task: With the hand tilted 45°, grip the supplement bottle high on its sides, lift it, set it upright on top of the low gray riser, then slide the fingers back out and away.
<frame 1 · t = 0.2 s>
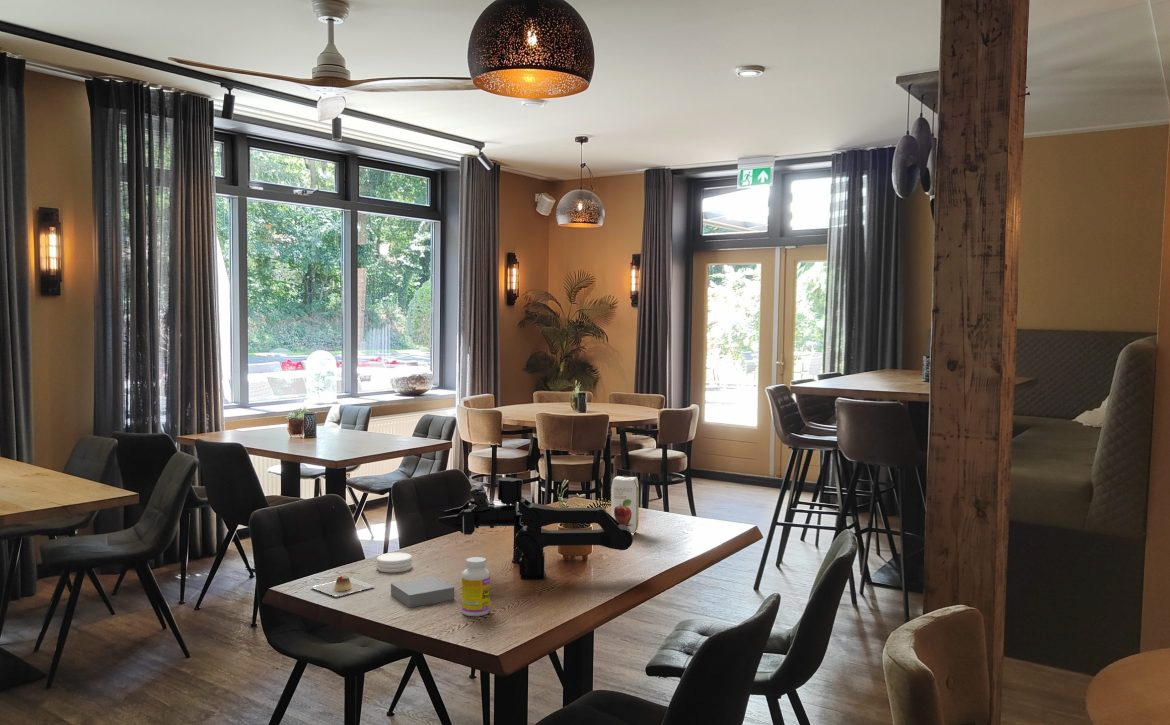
hand: (440, 516, 233), 17 cm above the table, tool horizontal, fingers open, 9 cm apart
juice carton: (624, 534, 285), on the table
gray riser: (422, 596, 215), on the table
dessert: (342, 591, 221), on the table
coaster: (394, 569, 242), on the table
supplement bottle: (475, 613, 203), on the table
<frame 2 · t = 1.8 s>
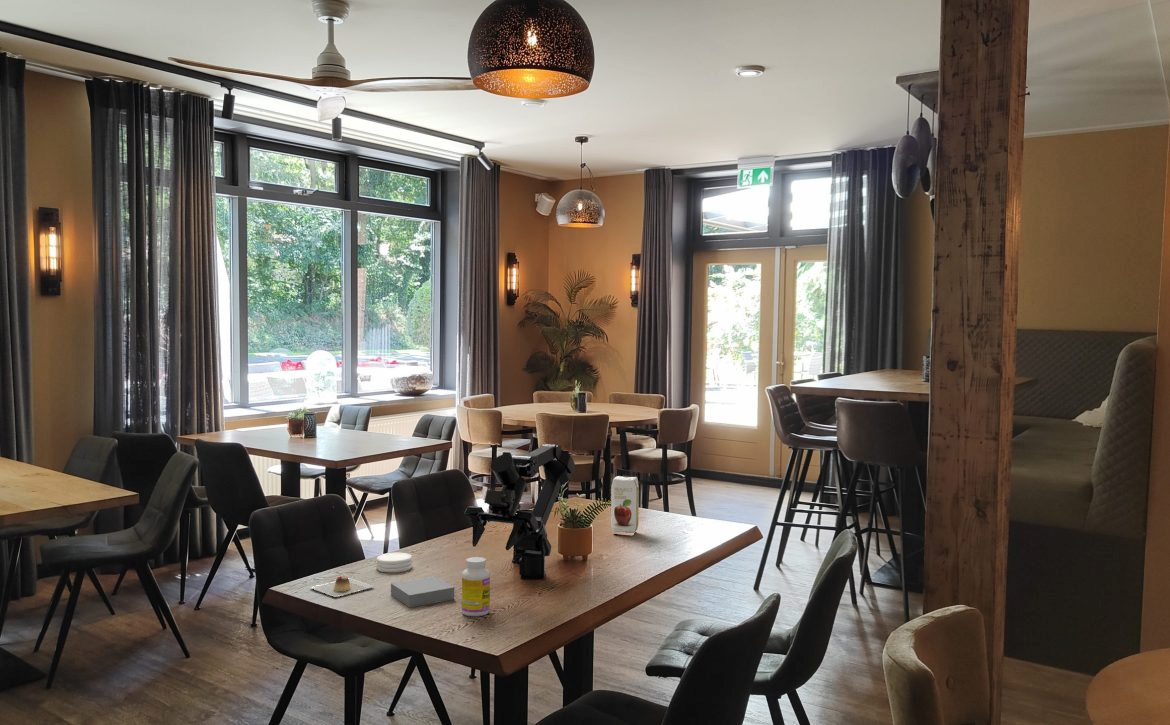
hand: (489, 547, 210), 14 cm above the table, tool tilted 45°, fingers open, 9 cm apart
nothing on the table moved.
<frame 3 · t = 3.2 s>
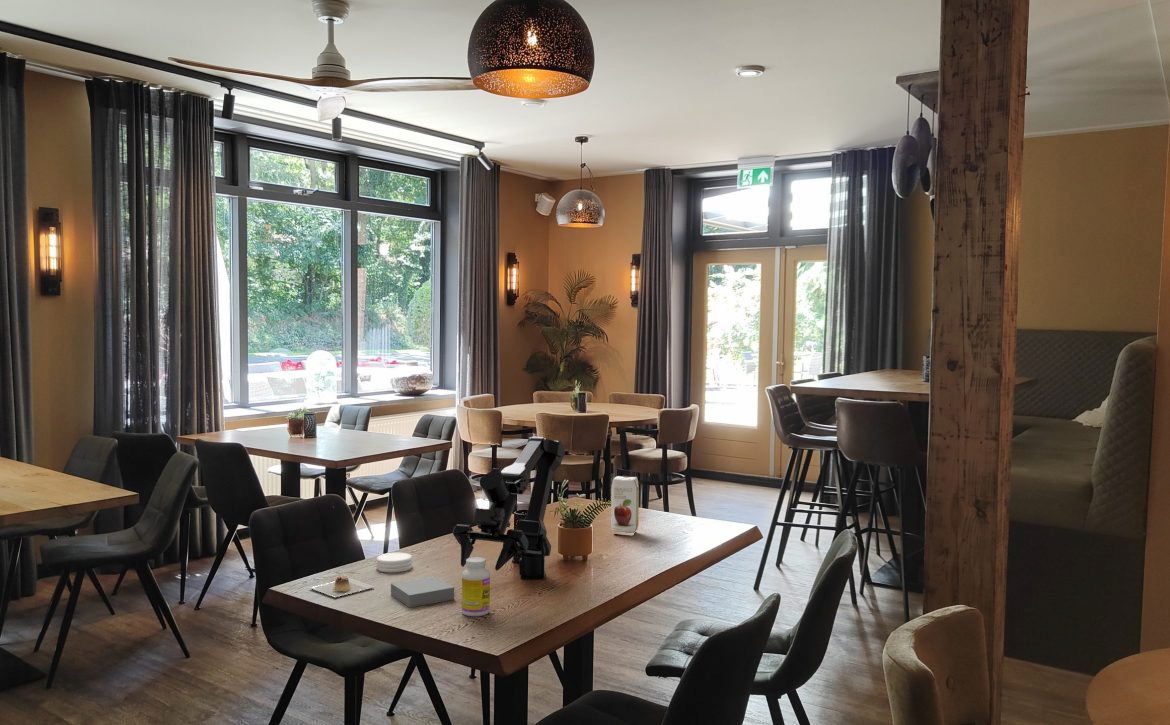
hand: (479, 567, 204), 10 cm above the table, tool tilted 45°, fingers open, 9 cm apart
nothing on the table moved.
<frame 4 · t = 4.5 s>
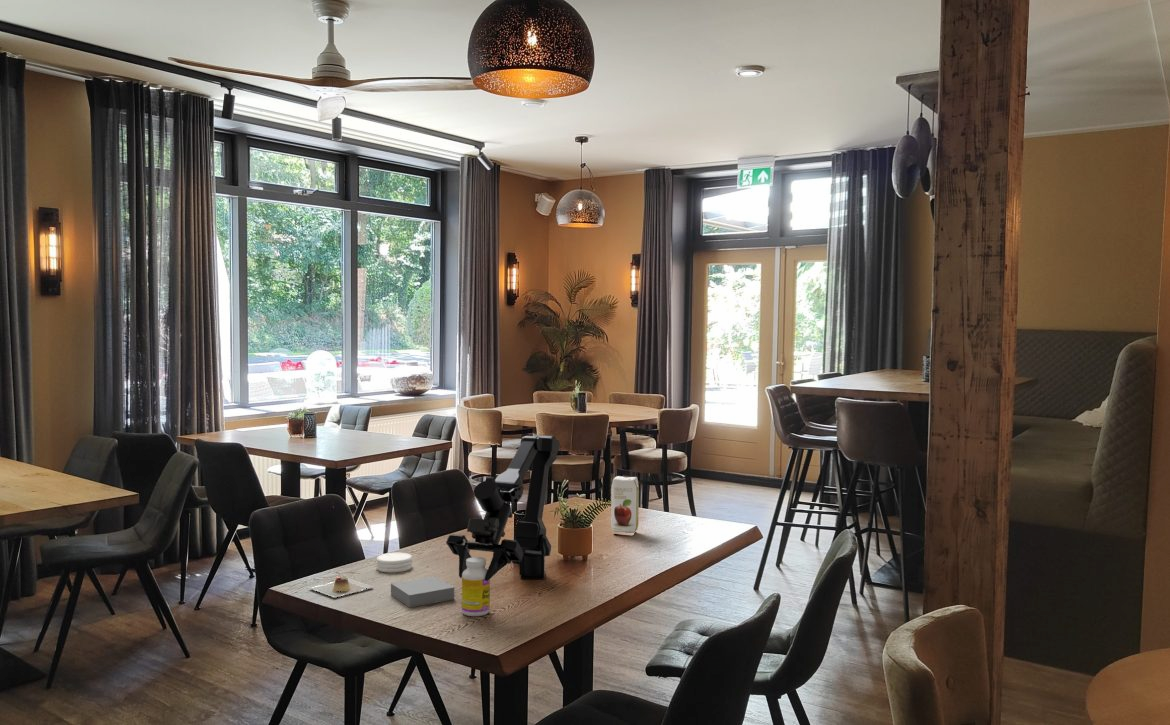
hand: (473, 578, 201), 9 cm above the table, tool tilted 45°, fingers closed on supplement bottle, 7 cm apart
supplement bottle: (475, 613, 203), on the table, touching gripper
everything else where it was.
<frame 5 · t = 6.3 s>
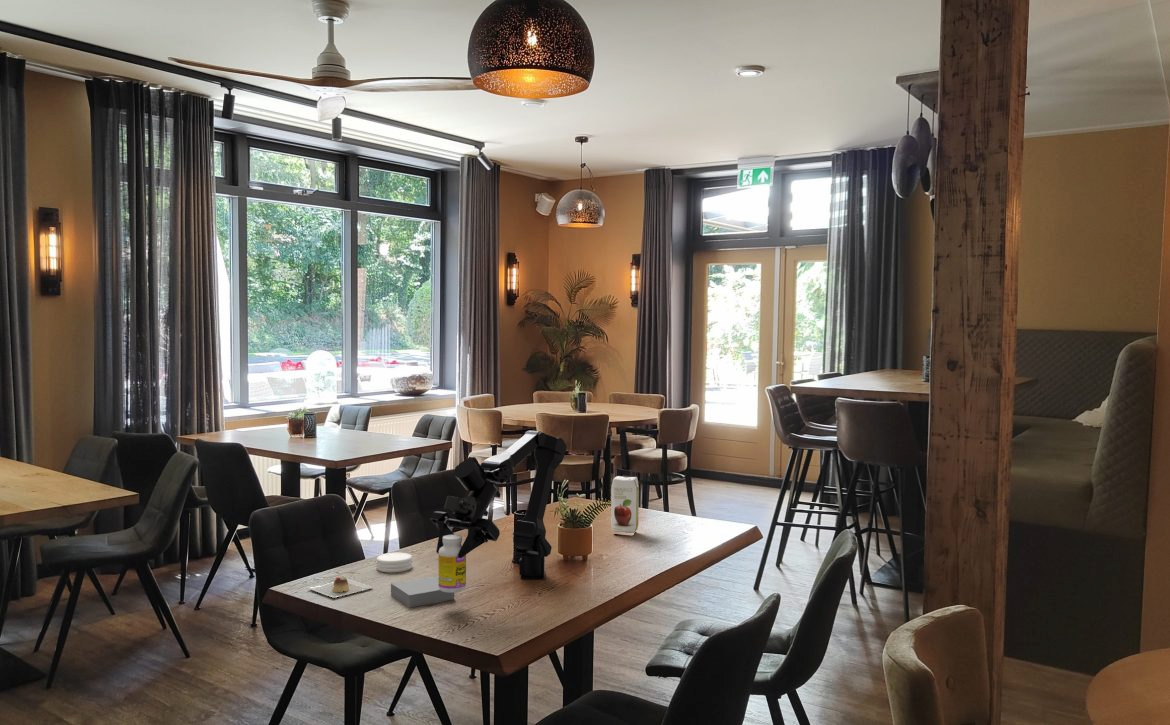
hand: (448, 555, 205), 13 cm above the table, tool tilted 45°, fingers closed on supplement bottle, 7 cm apart
supplement bottle: (452, 590, 206), point 4 cm above the table, touching gripper
when the fingers open (12 cm above the table, at t = 8.1 s): supplement bottle stays where it is, resting on gray riser.
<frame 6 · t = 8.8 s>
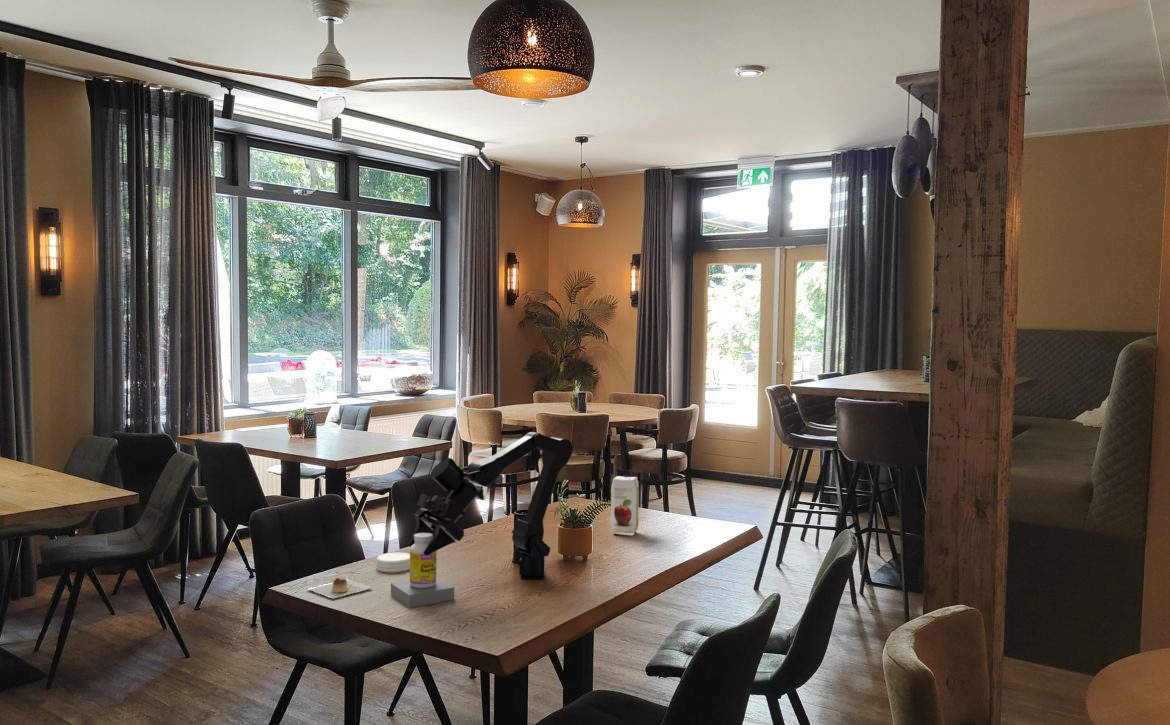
hand: (417, 550, 213), 12 cm above the table, tool tilted 45°, fingers open, 9 cm apart
supplement bottle: (423, 585, 215), point 3 cm above the table, touching gray riser
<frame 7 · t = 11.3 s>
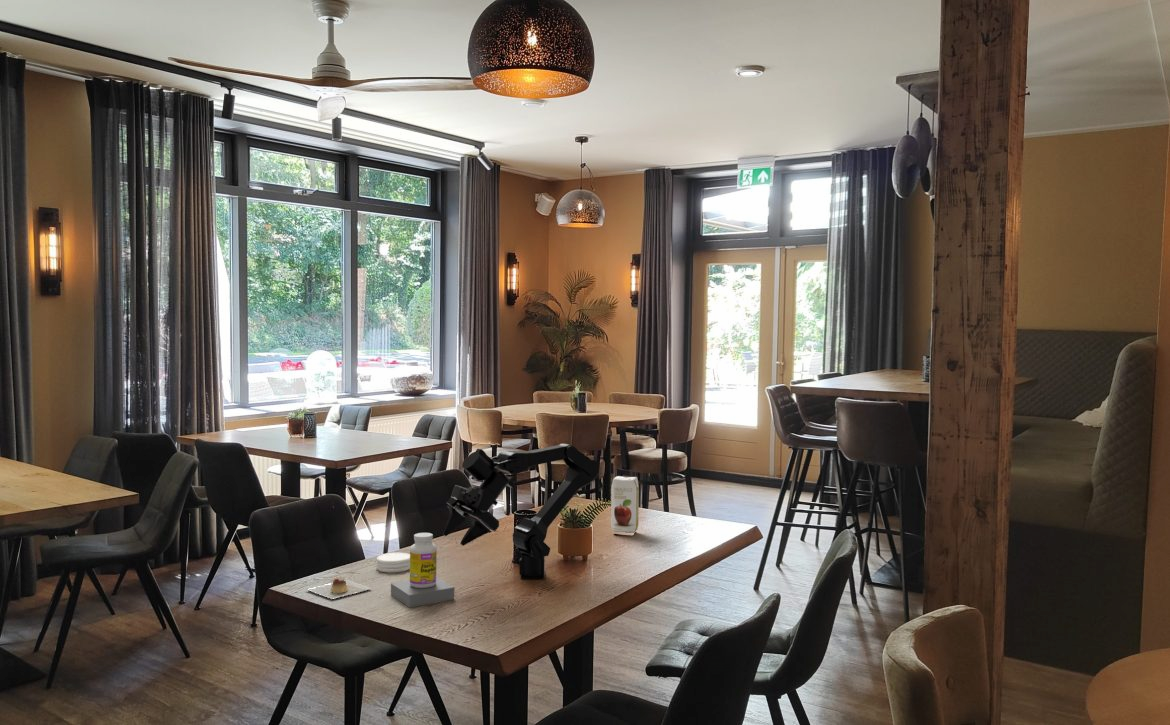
hand: (452, 539, 220), 13 cm above the table, tool tilted 40°, fingers open, 9 cm apart
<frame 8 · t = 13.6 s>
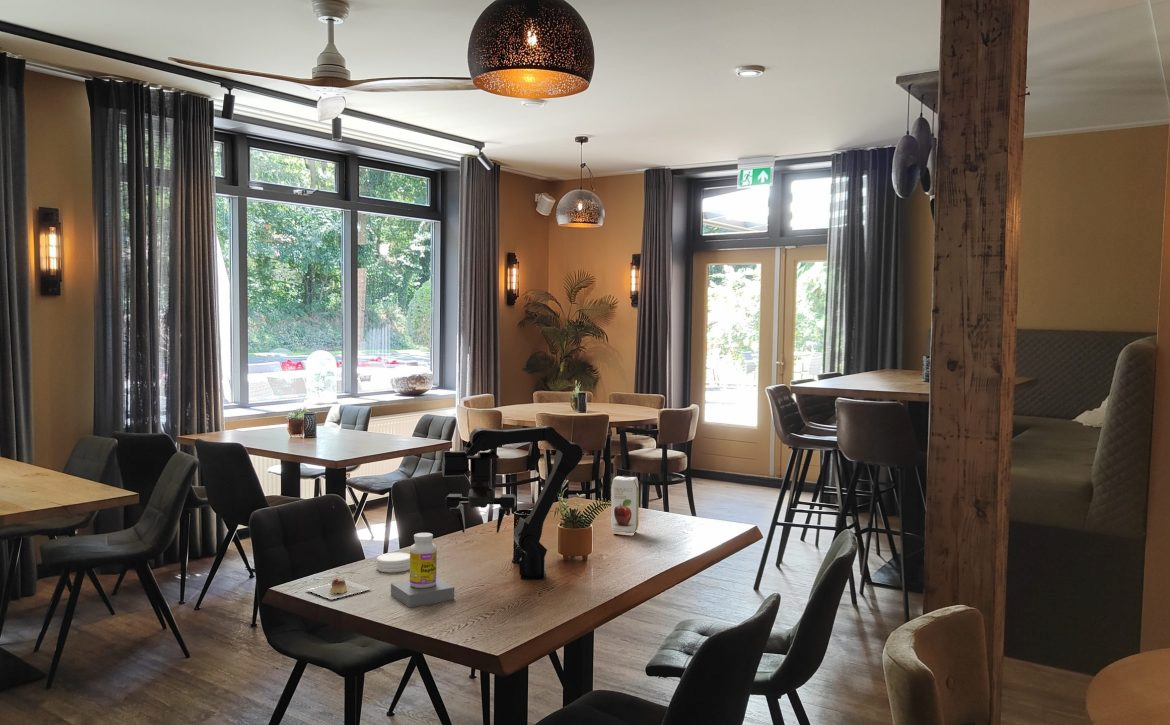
hand: (480, 532, 229), 13 cm above the table, tool pointing down, fingers open, 9 cm apart
at the end: supplement bottle 0.2 cm off-centre on the gray riser, point 2.8 cm above the gray riser's base; supplement bottle tilted 0°; the gripper is holding nothing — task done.
